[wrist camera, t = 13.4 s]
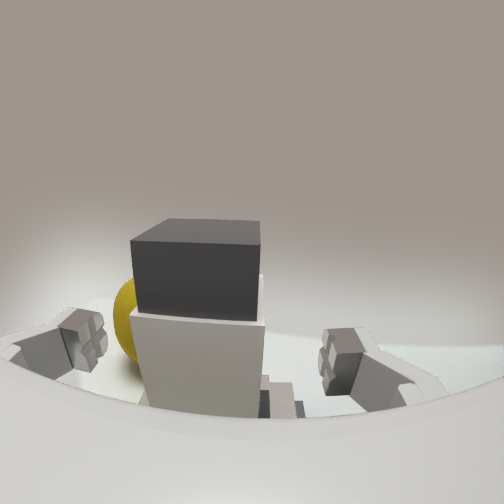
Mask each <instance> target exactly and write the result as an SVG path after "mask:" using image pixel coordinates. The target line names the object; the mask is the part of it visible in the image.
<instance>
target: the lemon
mask: <svg viewBox="0 0 504 504" xmlns="http://www.w3.org/2000/svg"><path fill="white" fill-rule="evenodd" d="M136 306H137V301H136V293H135V285H134V278H132V279H131V280H129V281H128V282H126V283H125V284H124V285H123V286H122V288H121V289H120V290H119V292H118V294H117V296H116V299H115V302H114V309H113V320H114V328H115V333H116V337H117V339H118V342H119V344H120V345H121V347H122V349H123V350H124V352H125V353H126V354H127V355H128V356H129V357H130V358H132V359H133V360H134V361H136V362H138V358H137V354H136V349H135V345H134V340H133V335H132V329H131V324H130V318H129V315H130V313H131V312H132V311H133V310H134V309H135V307H136Z"/></svg>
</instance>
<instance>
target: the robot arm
mask: <svg viewBox="0 0 504 504" xmlns="http://www.w3.org/2000/svg"><path fill="white" fill-rule="evenodd" d="M103 325H104V320H103V316H102V315H101V314H100V313H99V312H94V311H89V310H84V309H79V308H73V307H67V308H66V309H65V310H64V311H63V312H61V313H60V314H59V315H58V316H56V317H55V318H54V319H53V320H52V321H51V322H49V323H48V324H42V325H39V326H36V327H32V328H29V329H26V330H23V331H19V332H16V333H13V334H9V335H6V336H3V337H0V504H504V376H503V377H501V378H498V379H496V380H493V381H491V382H488V383H485V384H483V385H480V386H477V387H474V388H471V389H468V390H465V391H462V392H459V393H455V394H452V395H449V393H448V392H447V390H446V389H445V388H444V386H443V385H442V383H441V382H440V381H439V379H438V378H437V377H436V376H434V375H432V374H430V373H428V372H426V371H424V370H422V369H420V368H418V367H416V366H414V365H412V364H410V363H408V362H406V361H404V360H402V359H400V358H398V357H396V356H394V355H392V354H390V353H388V352H386V351H381V350H380V348H379V347H378V345H377V344H376V342H375V340H374V339H373V337H372V336H371V334H370V333H369V331H368V330H367V328H365V327H357V328H340V329H325V330H324V332H323V336H322V342H323V345H324V346H323V347H322V348H321V349H320V351H319V357H318V368H319V373H320V375H321V376H322V377H324V378H323V382H322V384H323V388H324V391H325V395H326V396H339V395H349V396H350V397H351V398H352V399H353V400H355V401H356V402H357V403H358V404H359V405H360V406H361V407H363V408H364V409H365V410H366V411H367V413H359V414H351V415H342V416H330V417H316V418H288V419H266V418H239V417H224V416H213V415H203V414H194V413H186V412H179V411H172V410H166V409H160V408H155V407H150V406H145V405H140V404H135V403H130V402H126V401H122V400H118V399H114V398H110V397H106V396H102V395H99V394H95V393H92V392H88V391H85V390H82V389H79V388H76V387H72V386H70V385H67V384H64V383H61V382H58V381H55V379H57V378H59V377H61V376H62V375H64V374H66V373H67V372H69V371H71V370H73V369H77V370H81V371H85V372H89V373H91V371H92V370H93V369H94V367H95V366H96V365H97V363H98V360H97V358H99V357H101V356H103V355H104V354H105V352H106V350H107V346H108V337H107V333H106V332H105V331H104V329H103V328H102V327H103Z"/></svg>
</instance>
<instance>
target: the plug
mask: <svg viewBox="0 0 504 504" xmlns="http://www.w3.org/2000/svg"><path fill="white" fill-rule="evenodd" d="M130 244H131V257H132V267H133V276H134V285H135V293H136V301H137V306H136V307H135V309H134V310H133V311H132V312H131V313H130V315H129V318H130V324H131V329H132V335H133V340H134V345H135V349H136V354H137V358H138V363H139V367H140V371H141V375H142V379H143V383H144V387H145V391H146V394H147V398H148V401H149V405H150V407H155V408H160V409H166V410H172V411H179V412H186V413H194V414H203V415H213V416H224V417H239V418H258V412H259V400H260V387H261V374H262V360H263V347H264V332H265V316H264V293H263V275H259V266H260V246H261V245H260V222H259V221H244V220H211V219H210V220H209V219H167V220H165V221H163V222H162V223H160V224H158V225H156V226H154V227H153V228H151V229H149V230H147V231H146V232H144V233H142V234H141V235H139V236H137V237H135V238H134V239H132V240H131V241H130Z"/></svg>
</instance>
